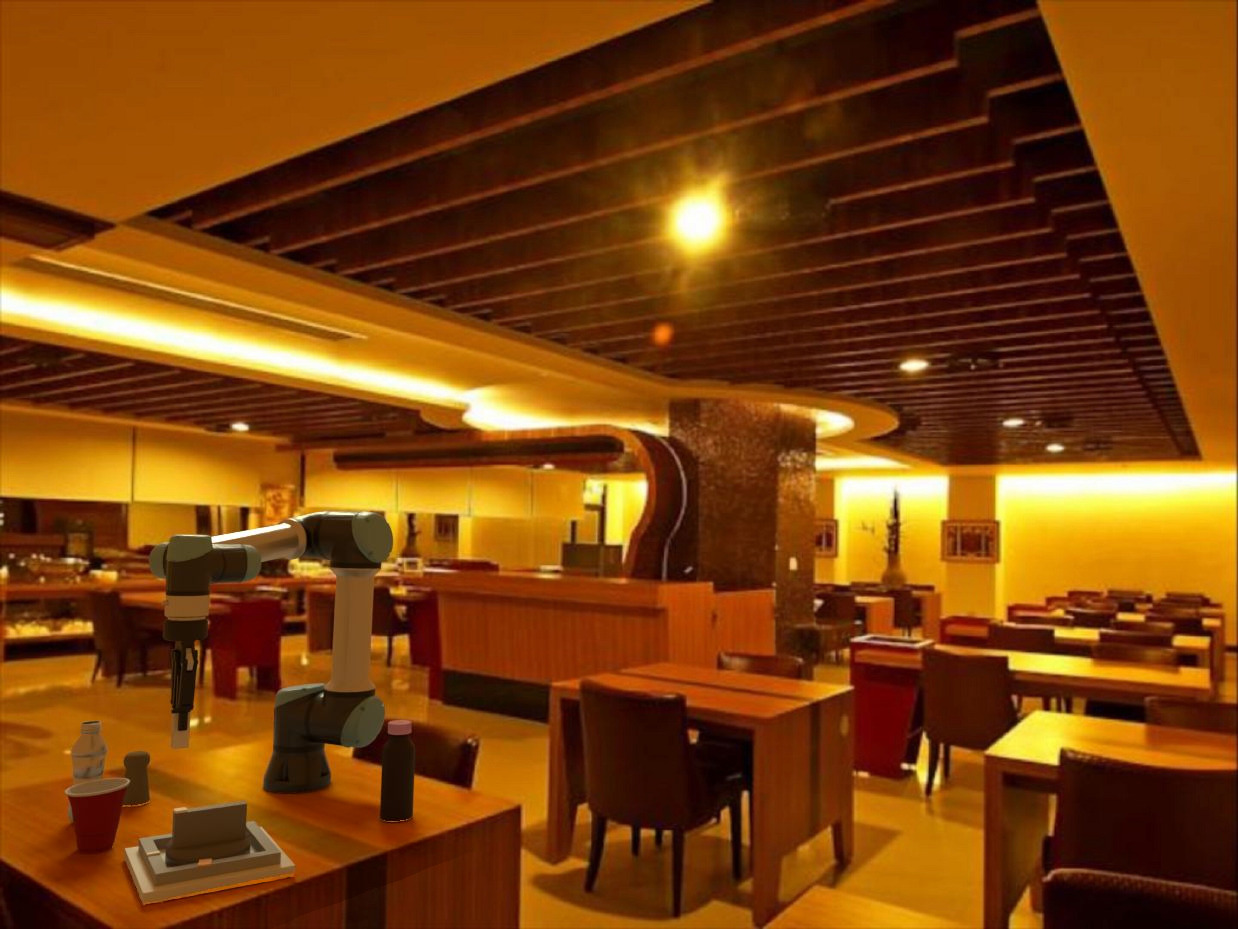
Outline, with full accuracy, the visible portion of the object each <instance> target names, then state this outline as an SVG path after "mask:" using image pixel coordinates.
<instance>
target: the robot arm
mask: <svg viewBox="0 0 1238 929" xmlns="http://www.w3.org/2000/svg"><path fill="white" fill-rule="evenodd" d="M393 547H394V536H393V531H392V527H391V526H390V523H389V522H388V521H387V519H386V518H385V517H384V516H383V515H381V514H380V513H378V512H372V511H371V512H370V511H365V510H360V511H357V510H356V511H355V510H353V511H351V510H349V511H347V510H323V511H316V512H312V513H307V514H303V515H299V516H294V517H290V518H285V519H282V520H281V521H279V522H278V523H277V524H276V525H270V526H264V527H259V528H255V529H254V528H253V529H248V530H243V531H238V532H232V533H226V534H221V535H216V536H210V535H209V534H208V535H207V534H174V535H172V536H171V537H170V538H169V540H168V542H160V543H159V544H157V545H156V546H154V548H152V550H151V551H150V554H149V557H148V566H149V567H148V568H149V570H150V571H151V573H152V575H153V576H155V577H156V578H158V579H163V580H165V597H164V598H165V599H164V600H162V601H161V606H164V616H165V617H166V619H164V621H163V629H162V638H163V640H165V641H168V642H175V644H174V649H173V648H172V649H171V652H170V657H171V674H170V675H171V680H170V681H171V682H170V701H169V702H170V705H171V708H172V709H171V710H170V713H171V730H170V732H171V733H170V748H171V750H177V749H178V750H179V749H188V748H190V732H191V731H190V729H191V728H190V727H191V714H192V713H191V712H192V711H194V707H195V706H194V704H195V703H194V701H195V692H196V680H197V671H198V665H199V659H198V658H199V651H198V649H196V648H195V647H196V644H195V642H196V641H204V640H205V639H206V638H208V636H209V631H208V630H209V619H208V618H206V617H207V616H209V613H210V601H211V600H210V599H211V593H210V592H211V585H216V584H219V585H220V584H242V583H245V582H246V583H247V582H250V581H252V580H254V579H255V578H257V577H258V575H259V574H260V572H261V570H262V563H263V562H268V561H273V560H276V559H281V558H283V559H286V560H292V561H293V560H297V559H317V560H329V563H330V565H329V569H330V570H331V571H332V572H333V573H334V575H335V576H336V578H335V598H334V599H335V600H334V616H333V631H332V632H333V637H332V654H331V655H332V657H331V673H330V680H329V681H328V682H326V683H307V684H306V683H305V684H300V685H299V684H298V685H293V686H287V687H284V688H281V689H279V690H278V691H277V693H276V695H275V699H274V701H275V702H274V706H273V734H272V735H273V739H272V743H273V744H272V754H271V757H270V759H269V762H268V765H267V767H266V770H265V773H264V775H263V782H262V783H263V785H262V787H263V789H264V790H265V791H268V792H271V793H277V794H301V793H310V792H314V791H318V790H322V789H325V788H326V787H328V786H330V785H331V784H332V783H331V782H332V772H331V768H330V763H329V761H328V757H327V754H326V749H325V746H326V745H333V746H340V747H345V748H349V749H350V748H359V749H360V748H364V747H367V746H368V745H370V744H371V743H373V742H374V741H375V740H376V738H377V736H378V734H380V733H381V730H382V728H383V725H384V722H385V717H386V707H385V704H384V702H383V700H382V699H381V698H380V697H378V696H376V684H374V683H373V681H371V679H370V673H371V672H370V671H371V669H370V668H371V652H372V650H371V649H372V633H373V632H372V630H373V609H374V592H375V591H374V590H375V576H376V575H377V574H378V573H379V572H380V571H382V563H383V562H385V561H387V560H388V559H389V558H390V556H391V553H392V552H393Z"/></svg>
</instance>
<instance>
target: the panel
mask: <svg viewBox="0 0 1238 929" xmlns="http://www.w3.org/2000/svg"><path fill="white" fill-rule="evenodd" d="M246 832H247V833H249V834H250V836H251V848H250V853H249V854H245V855H240V856H234V857H228V858H222V859H216V860H212V859H201V860H199V863H193V864H187V865H182V866H176V867H171V866H169V865H168V864H166V862H165V852H166V844H167V843H168V842H169V841H170V840H172V833H166V834H161V835H153V836H148V837H147V836H146V837H142V838H141V837H140V838H139V839H138V845H137V846H133V847H132V846H131V847H125V848H124V857H123V860H124V859H125V861H126V863H127V865H128V868H129V870H130V873H131V875H132V878H133V880H134V883H135V886H136V888H137V890H138V893H139V895H140V898H141V900H142V902H143V903H146V902H153V901H161V900H164V899H168V898H172V897H177V896H181V895H187V894H192V893H195V892H201V891H205V890H208V889H213V888H218V887H223V886H230V885H233V884H238V883H244V882H248V881H251V880H258V879H264V878H269V877H276V876H280V875H285V874H292V873H295V874H296V864H295V863H294V862H293V861H292V860H291V859H290V858H289V856H288V855H287V854H286V853H285V852H284V850H282V848H281V847H280V846H279V845H278V844H277V843H276V842H275V840H274V839H273V838H272V837H271V836H270V835H269V833H268V832H267V831H266V830H265V829H264V828H263V826H259V825H258V824H257V822H256V821H255V820H251V821H246ZM125 861H124V862H125ZM126 863H125V864H126ZM128 868H127V869H128ZM130 873H129V874H130ZM132 878H131V879H132ZM134 883H133V884H134ZM135 886H134V887H135ZM136 888H135V889H136ZM138 893H137V894H138ZM140 898H139V899H140Z"/></svg>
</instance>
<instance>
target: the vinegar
mask: <svg viewBox="0 0 1238 929" xmlns="http://www.w3.org/2000/svg"><path fill="white" fill-rule="evenodd" d="M412 724H413V723H412V721H411V720H408V719H407V720H406V719H395V720H390V721H389V722H387V736H388V740H387V741H386V742H385V743H384V744H383V746H382V753H381V754H382V756H381V778H380V779H381V780H380V803H379V804H380V806H379V808H380V809H379V818H380V819H379V820H381V819H382V820H385V821H400V820H406V819H409V818H411V817H412V818H413V815H414V814H413V813H414V790H415V769H416V768H415V766H416V765H415V764H416V763H415V762H416V761H415V760H416V745H415V743H414V742H413V741H412V740H411V738H410V737H411V735H412ZM412 818H411V819H412ZM382 820H381V821H382ZM385 821H384V822H385Z"/></svg>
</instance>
